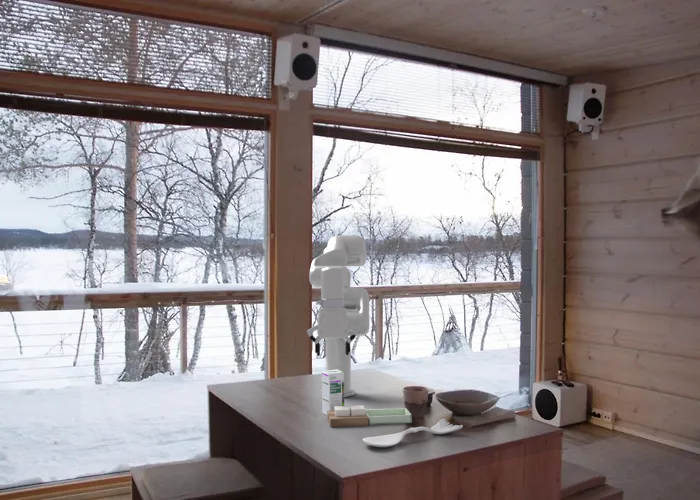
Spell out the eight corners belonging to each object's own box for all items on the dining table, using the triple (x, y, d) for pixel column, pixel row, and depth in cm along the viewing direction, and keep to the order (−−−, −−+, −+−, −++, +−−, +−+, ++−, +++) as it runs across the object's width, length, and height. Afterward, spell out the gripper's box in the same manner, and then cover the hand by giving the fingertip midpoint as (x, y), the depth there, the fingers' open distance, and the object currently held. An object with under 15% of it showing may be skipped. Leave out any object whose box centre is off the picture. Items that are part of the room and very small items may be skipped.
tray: (365, 417, 208) (365, 409, 208) (405, 415, 210) (405, 407, 209) (369, 424, 199) (369, 416, 199) (412, 423, 201) (411, 415, 201)
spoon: (464, 435, 188) (463, 423, 188) (374, 454, 172) (374, 441, 172) (444, 428, 196) (444, 416, 196) (356, 445, 179) (356, 433, 179)
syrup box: (329, 417, 208) (329, 373, 208) (321, 413, 213) (321, 370, 213) (344, 415, 211) (344, 371, 210) (337, 411, 216) (336, 368, 216)
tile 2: (349, 412, 205) (349, 405, 205) (363, 411, 205) (363, 405, 205) (351, 415, 200) (351, 409, 200) (365, 415, 201) (365, 408, 201)
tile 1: (334, 412, 204) (334, 406, 204) (348, 412, 205) (348, 405, 205) (335, 416, 200) (335, 410, 200) (349, 415, 200) (349, 409, 200)
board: (327, 418, 207) (327, 410, 207) (363, 416, 208) (363, 409, 208) (330, 427, 197) (330, 419, 197) (368, 425, 198) (368, 417, 198)
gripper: (307, 305, 207) (307, 357, 207) (359, 304, 209) (359, 356, 209) (305, 303, 214) (306, 353, 214) (356, 302, 216) (356, 352, 216)
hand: (332, 354), depth 212 cm, fingers open, 9 cm apart
